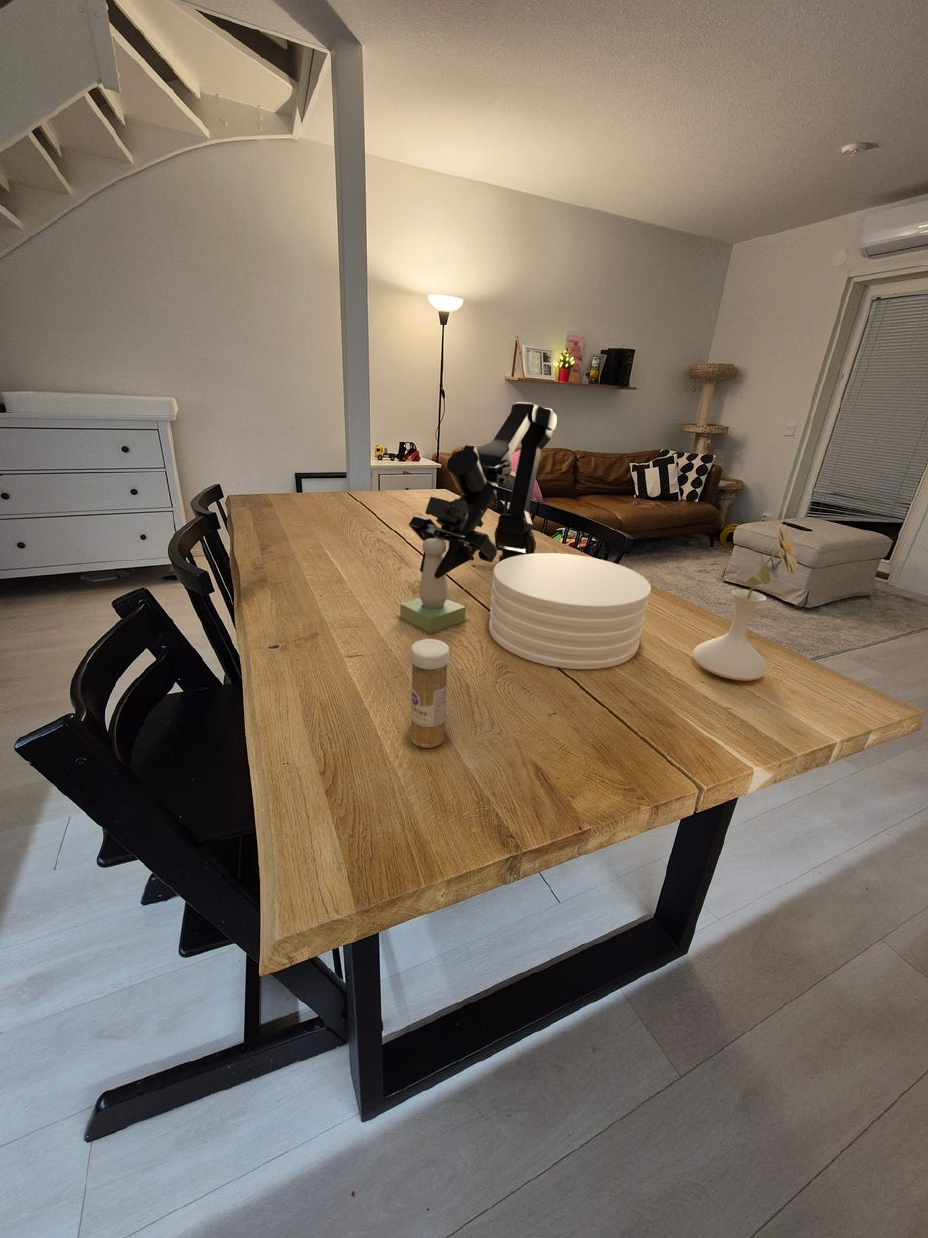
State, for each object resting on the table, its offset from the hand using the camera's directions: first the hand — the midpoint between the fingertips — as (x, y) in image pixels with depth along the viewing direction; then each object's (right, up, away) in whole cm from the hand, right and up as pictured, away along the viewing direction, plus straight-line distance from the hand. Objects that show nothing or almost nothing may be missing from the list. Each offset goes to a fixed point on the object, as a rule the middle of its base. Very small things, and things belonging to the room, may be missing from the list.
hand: (428, 574), depth 93 cm
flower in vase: (+52, -17, -7) cm, 55 cm away
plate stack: (+25, -11, +2) cm, 28 cm away
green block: (0, -8, +5) cm, 10 cm away
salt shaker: (+1, -6, +4) cm, 7 cm away
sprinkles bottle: (+2, -24, -29) cm, 37 cm away
